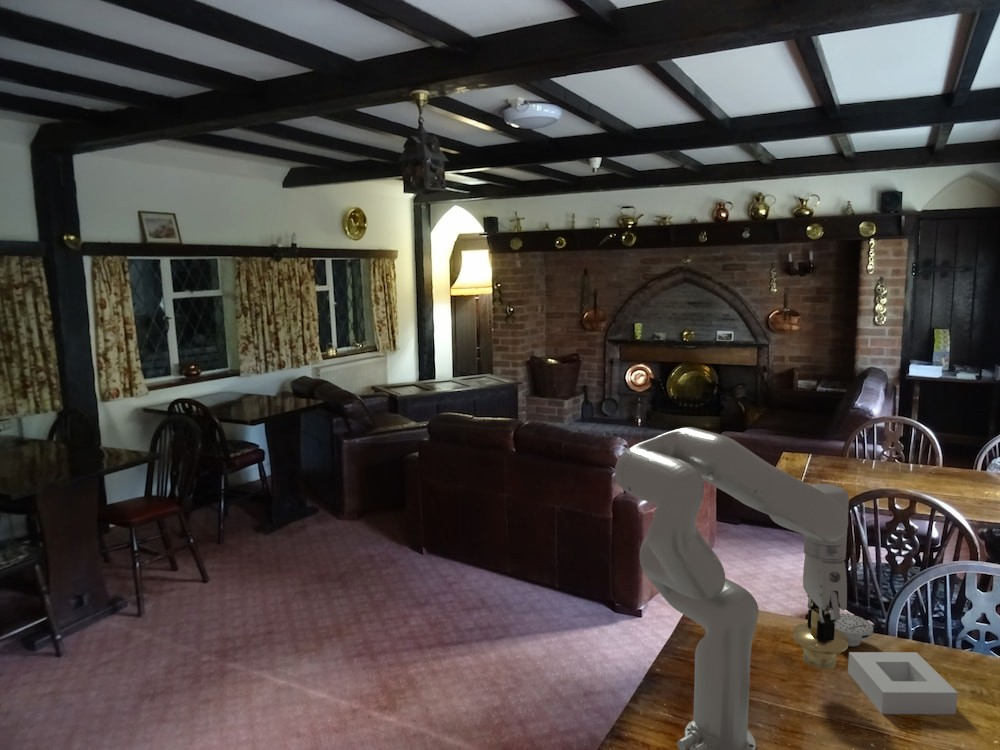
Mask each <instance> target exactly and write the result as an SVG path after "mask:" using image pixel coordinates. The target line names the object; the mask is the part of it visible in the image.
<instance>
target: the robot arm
mask: <svg viewBox="0 0 1000 750" xmlns="http://www.w3.org/2000/svg"><path fill="white" fill-rule="evenodd" d="M614 468H615V469H614V477H615V481H616V483H617V484H618V486H619V487H620V488H621V489H622V490H623V491H624V492H626V493H627V494H629V495H630V496H633V497H635V498H638V499H640V500H642V501H645V502H647V503H649V504H651V505H654V506H656V507H655V511H654V514H653V517H652V520H651V523H650V525H649V527H648V530H647V533H646V537H644V538H643V541H642V542H641V545H640V548H639V563H640V567H641V570H642V571H643V573H644V575H645V576H646V577H647V578H646V579H648V581H650V583H651V584H652V585H653V586H654V588H655V589H656V591H658V592H659V594H660V595H661V596H662V597H663V599H665V601H666V602H667V603H668V604H669V605H670V606H671V607H672V608H673V609H674V610H676V611H677V612H679V613H680V614H682V615H684V616H685V617H687V618H689V619H690V620H692V621H694V622H695V623H696V624H698V625H700V626H701V627H703V629H704V630H705V634H704V636H703V637H702V638H701V639H700V640H699V642H698V643H697V644H696V648H695V653H694V687H693V689H694V690H693V691H694V692H693V693H694V694H693V719H692V720H691V721H689V723H688V724H687V725H686V727H684V736H683V737H682V738H680V739H678V740H677V742H676V745H677V748H678V749H679V750H757V743H756V740H755V737H754V736H753V734H752V733H751V732H750V730H749V729H748V727H749V725H748V724H749V723H748V722H749V701H750V677H751V675H750V674H751V656H752V645H753V640H754V639H753V638H754V636H755V631H756V627H757V624H758V619H759V613H760V612H759V605H758V602H757V601H756V598H755V597H754V596H753V595H752V593H751V592H750V591H748V589H746V588H745V587H743V586H742V585H740V584H738V583H736V582H734V581H732V580H730V579H728V578H726V571H725V569H724V566H723V564H722V562H721V560H720V559H719V557H718V555H717V554H716V553H715V551H714V550H713V549H712V547H711V546H710V545H709V543H708V542H707V540H706V539H705V538H704V536H703V535H702V534H701V533H700V531H699V529H698V528H697V520H698V516H699V512H700V508H701V506H702V503H703V500H704V496H705V484H704V481H705V482H707V483H708V484H710V485H712V486H714V487H715V488H717V489H719V490H721V491H722V492H724V493H726V494H727V495H729V496H731V497H733V498H734V499H735V500H738V501H739V502H740V503H742V504H743V505H746V506H748V507H750V508H751V509H754V510H756V511H758V512H761V513H763V514H766V515H768V516H769V518H770V519H771V520H772V521H773V522H774V523H775V524H777V525H778V526H780V527H782V528H786V529H787V530H791V531H793V532H796V533H798V534H799V533H800V534H802V535H804V537H803V539H804V540H803V554H804V563H803V573H802V587H803V590H804V592H805V593H806V595H807V598H808V600H807V608H808V610H807V623H808V628H809V629H811V613H812V609H814V608H819V620H820V621H817V639H818V640H819V641H833V640H834V631H835V623H836V620H839V619H841V616H840V614H841V611H846V609H847V606H848V605H847V602H848V601H847V600H848V583H847V581H848V580H847V579H848V577H847V569H846V562H845V560H846V558H847V555H846V554H847V540H848V539H847V538H848V527H849V507H850V506H849V505H850V504H849V503H850V502H849V501H850V498H849V493H848V491H847V490H846V489H845V488H843V487H841V486H839V485H835V484H830V483H816V484H813V485H810V484H808V483H806V482H805V481H803V480H801V479H799V478H796V477H794V476H793V475H791V474H789V473H788V472H786V471H784V470H782V469H781V468H778V467H777V466H774V465H772V464H770V463H769V462H768V461H765V460H764V459H763V458H761V457H760V456H758V454H757V455H756V454H755V453H754V452H753V451H751V450H749V449H748V448H746V447H745V446H744V445H742V444H741V443H739V442H737V441H736V440H735V439H733V438H730V437H728V436H726V435H723V434H719V433H716V432H711V431H708V430H704V429H702V428H701V429H700V428H696V427H692V426H688V427H687V426H686V427H681V428H677V429H674V430H670V431H668V432H665V433H662V434H660V435H657V436H654V437H652V438H649V439H647V440H644V441H642V442H639V443H637V444H634V445H632V446H631V447H629V448H627V449H626V450H625V451H624V452H622V453H621V455H620V456H618V458H617V461H616V464H615V466H614ZM840 610H841V611H840ZM824 611H830V613H827V614H824Z"/></svg>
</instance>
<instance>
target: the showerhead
mask: <svg viewBox="0 0 1000 750" xmlns="http://www.w3.org/2000/svg"><path fill="white" fill-rule="evenodd" d="M840 616H841V619H839V620H836V623H835V628H836V629H838V630H840V631H841V632H843V633H844V634H845V635H846V636H847V638H848V647H858V646H860V645H861V643H862V640H867V639H870V638H871V637H872V636H873V634H874V627H873V625H872V624H871V622H869V621H868V620H866V619H864V618H863V617H861V616H857V615H855V614H849V613H844V612H843V613H840Z"/></svg>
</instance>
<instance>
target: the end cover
mask: <svg viewBox="0 0 1000 750" xmlns="http://www.w3.org/2000/svg"><path fill="white" fill-rule="evenodd" d="M830 612H831V611H824V614H827V613H830ZM817 621H820V620H819V608H814V609H812V613H811V629H809V628H808V622H805V623H800V624H798V625H796V626H795V627H794V628H793V632H792V634H793V635H792V637H793V639H794V641H795V642H796V643H797V644H798V645H799V646H801V647H802V648H803V653H802V654H803V655H802V659H803V661H804V663H805V664H807V665H808V666H810V667H813V668H815V669H819V670H831V669H834V668H835V667H836V665H837V664H836V663H837V655H838V654H841V653H843V652H845V651H846V650H847V649H848V647H849V646H848V638H847V636H846V635H845V634H844V633H843V632H841V631H840V630H838V629H836V628H835V631H834V640H833V641H819V640H818V639H817Z"/></svg>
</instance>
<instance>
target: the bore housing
mask: <svg viewBox="0 0 1000 750" xmlns="http://www.w3.org/2000/svg"><path fill="white" fill-rule="evenodd" d="M847 665H848V666H847V673H848V674H849V675H850V677H851V678H852V679H853V680H854V682H855V683H856V684H857V685H858V686H859V688H860V690H862V691H863V693H864V694H865V695H866V697H867V698H868V699H869V701H870V702H871V703H872V704H873V706H875V708H876V709H877V710H878V712H879V713H880V714H881V715H956V714H957V707H958V705H957V704H958V695H959V692H958V691H957V690H956V689H955V688H954V687H953V686H951V684H950V683H949V682H948V681H946V679H945V678H944V677H943V676H942V675H940V673H938V672H937V671H936V670H935V669H934V668H933V667H932V666H931V665H930V664H929V662H928V661H926V660H925V659H924V658H923V657H922V656H921V655H920V654H919V653H918V652H917V651H915V652H914V651H913V652H912V651H910V652H907V651H906V652H905V651H904V652H903V651H902V652H899V651H897V652H896V651H895V652H894V651H887V652H886V651H885V652H884V651H882V652H881V651H879V652H875V651H872V652H871V651H867V652H865V651H864V652H862V651H858V652H857V651H854V652H853V651H849V652H848V662H847Z"/></svg>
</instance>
